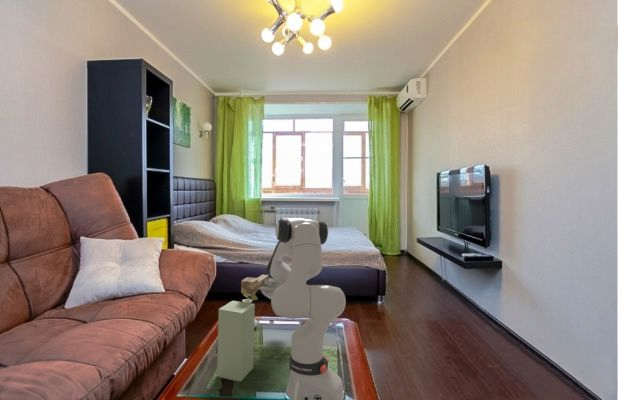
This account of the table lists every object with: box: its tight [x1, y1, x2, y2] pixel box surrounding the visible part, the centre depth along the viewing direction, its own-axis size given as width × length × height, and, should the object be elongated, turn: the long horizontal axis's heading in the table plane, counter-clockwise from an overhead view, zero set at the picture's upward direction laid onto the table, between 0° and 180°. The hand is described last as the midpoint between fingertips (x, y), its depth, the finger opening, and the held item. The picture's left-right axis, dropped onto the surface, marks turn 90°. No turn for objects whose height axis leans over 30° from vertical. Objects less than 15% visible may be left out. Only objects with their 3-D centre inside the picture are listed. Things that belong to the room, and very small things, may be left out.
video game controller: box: [300, 318, 309, 326], centre depth 170 cm, size 10×5×7 cm, turn 170°
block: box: [240, 274, 270, 294], centre depth 146 cm, size 5×18×5 cm, turn 163°
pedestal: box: [216, 300, 256, 382], centre depth 131 cm, size 10×10×26 cm
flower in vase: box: [241, 291, 259, 329], centre depth 171 cm, size 13×11×25 cm
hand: (260, 280), depth 149 cm, fingers closed on block, 3 cm apart
